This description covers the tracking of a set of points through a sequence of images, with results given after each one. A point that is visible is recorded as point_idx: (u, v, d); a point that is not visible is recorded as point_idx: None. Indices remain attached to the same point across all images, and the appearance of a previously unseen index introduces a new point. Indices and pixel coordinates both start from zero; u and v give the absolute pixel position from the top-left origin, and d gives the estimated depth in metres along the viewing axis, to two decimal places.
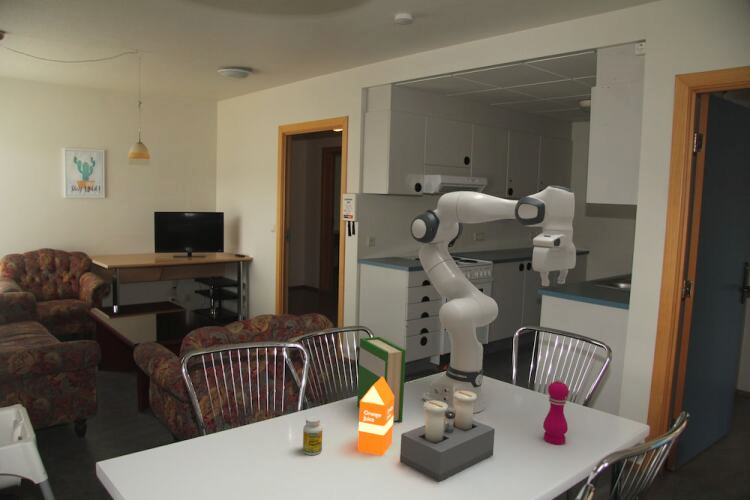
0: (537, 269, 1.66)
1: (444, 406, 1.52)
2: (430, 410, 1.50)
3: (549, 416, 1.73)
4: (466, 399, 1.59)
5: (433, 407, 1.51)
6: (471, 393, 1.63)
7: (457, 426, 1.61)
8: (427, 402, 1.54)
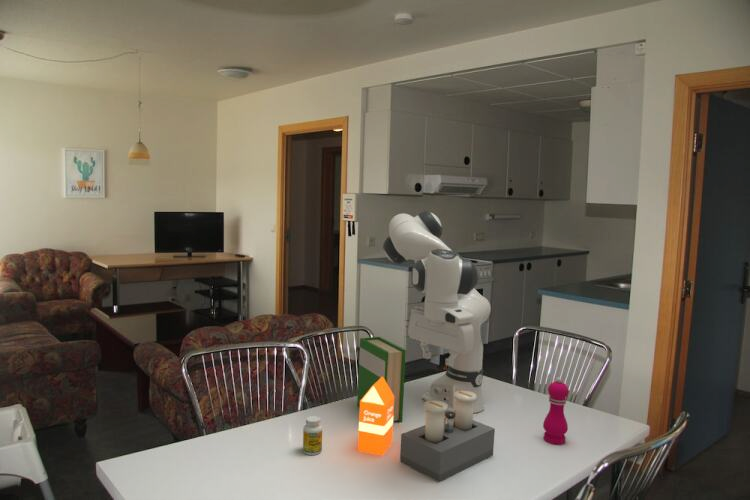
0: (468, 351, 1.44)
1: (444, 406, 1.52)
2: (430, 410, 1.50)
3: (549, 416, 1.73)
4: (466, 399, 1.59)
5: (433, 407, 1.51)
6: (471, 393, 1.63)
7: (457, 426, 1.61)
8: (427, 402, 1.54)
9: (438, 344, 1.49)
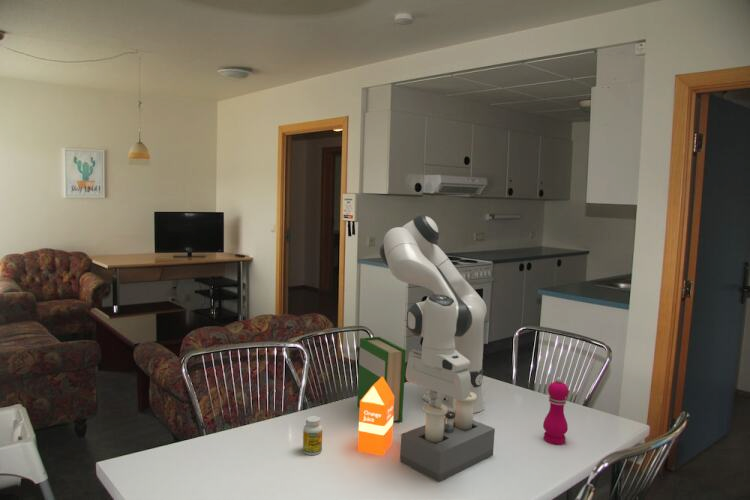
0: (465, 397, 1.45)
1: (444, 409, 1.52)
2: (430, 413, 1.50)
3: (549, 416, 1.73)
4: (466, 399, 1.59)
5: (433, 410, 1.51)
6: (471, 393, 1.63)
7: (457, 426, 1.61)
8: (427, 404, 1.54)
9: (435, 389, 1.50)
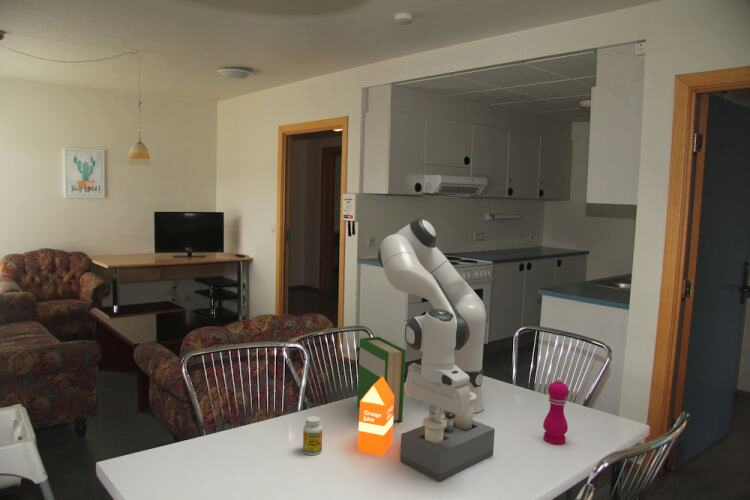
0: (464, 412, 1.46)
1: (443, 423, 1.52)
2: (429, 427, 1.51)
3: (549, 416, 1.73)
4: None
5: (432, 424, 1.51)
6: (471, 393, 1.63)
7: (457, 426, 1.61)
8: (426, 419, 1.55)
9: (435, 404, 1.51)
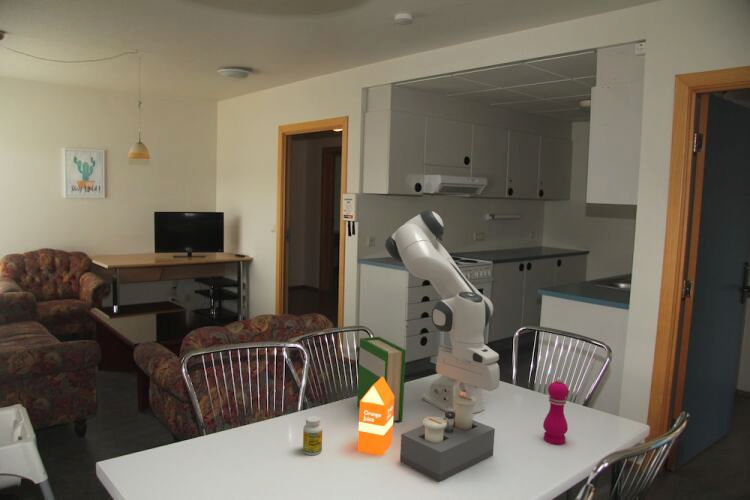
0: (494, 388, 1.54)
1: (443, 423, 1.52)
2: (429, 427, 1.51)
3: (549, 416, 1.73)
4: (466, 403, 1.59)
5: (432, 424, 1.51)
6: None
7: None
8: (426, 419, 1.55)
9: (465, 381, 1.59)
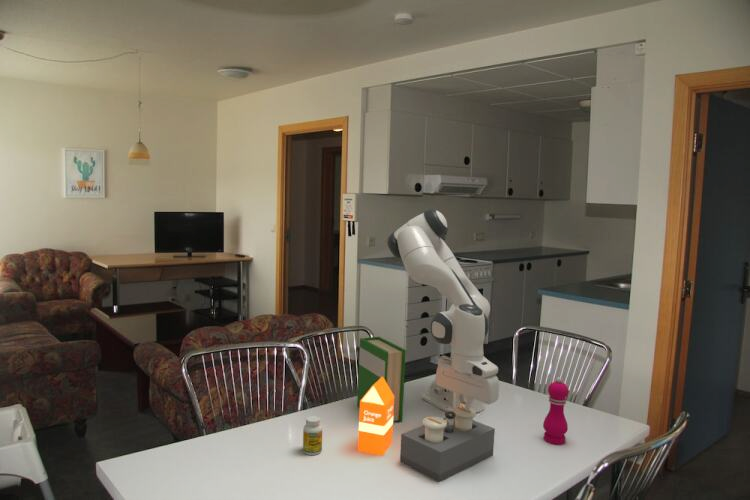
0: (494, 401, 1.55)
1: (443, 423, 1.52)
2: (429, 427, 1.51)
3: (549, 416, 1.73)
4: (465, 415, 1.59)
5: (432, 424, 1.51)
6: (470, 408, 1.64)
7: None
8: (426, 419, 1.55)
9: (465, 393, 1.60)
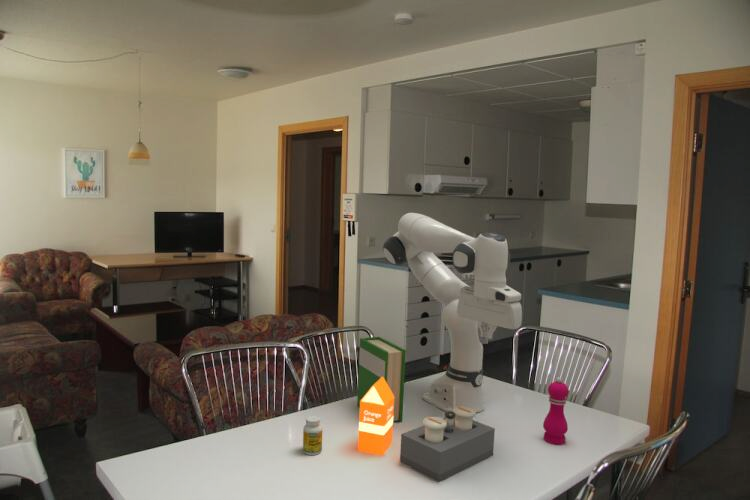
0: (517, 327, 1.54)
1: (443, 423, 1.52)
2: (429, 427, 1.51)
3: (549, 416, 1.73)
4: (465, 415, 1.59)
5: (432, 424, 1.51)
6: (470, 408, 1.64)
7: None
8: (426, 419, 1.55)
9: (487, 321, 1.59)
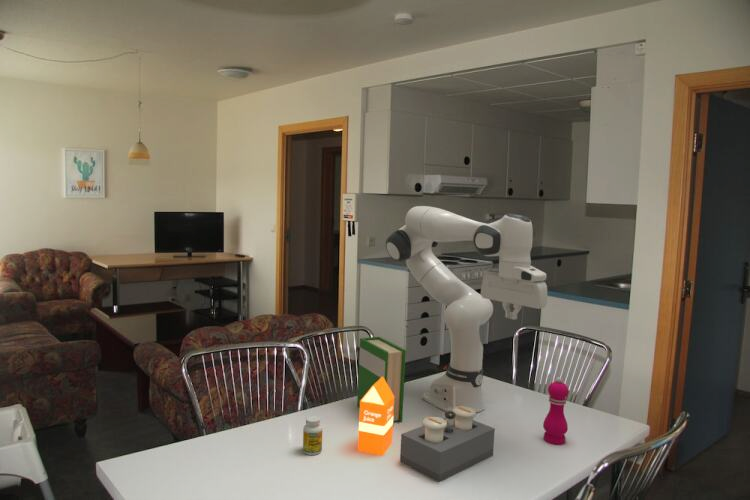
0: (543, 306, 1.56)
1: (443, 423, 1.52)
2: (429, 427, 1.51)
3: (549, 416, 1.73)
4: (465, 415, 1.59)
5: (432, 424, 1.51)
6: (470, 408, 1.64)
7: None
8: (426, 419, 1.55)
9: (512, 301, 1.61)
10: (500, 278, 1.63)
